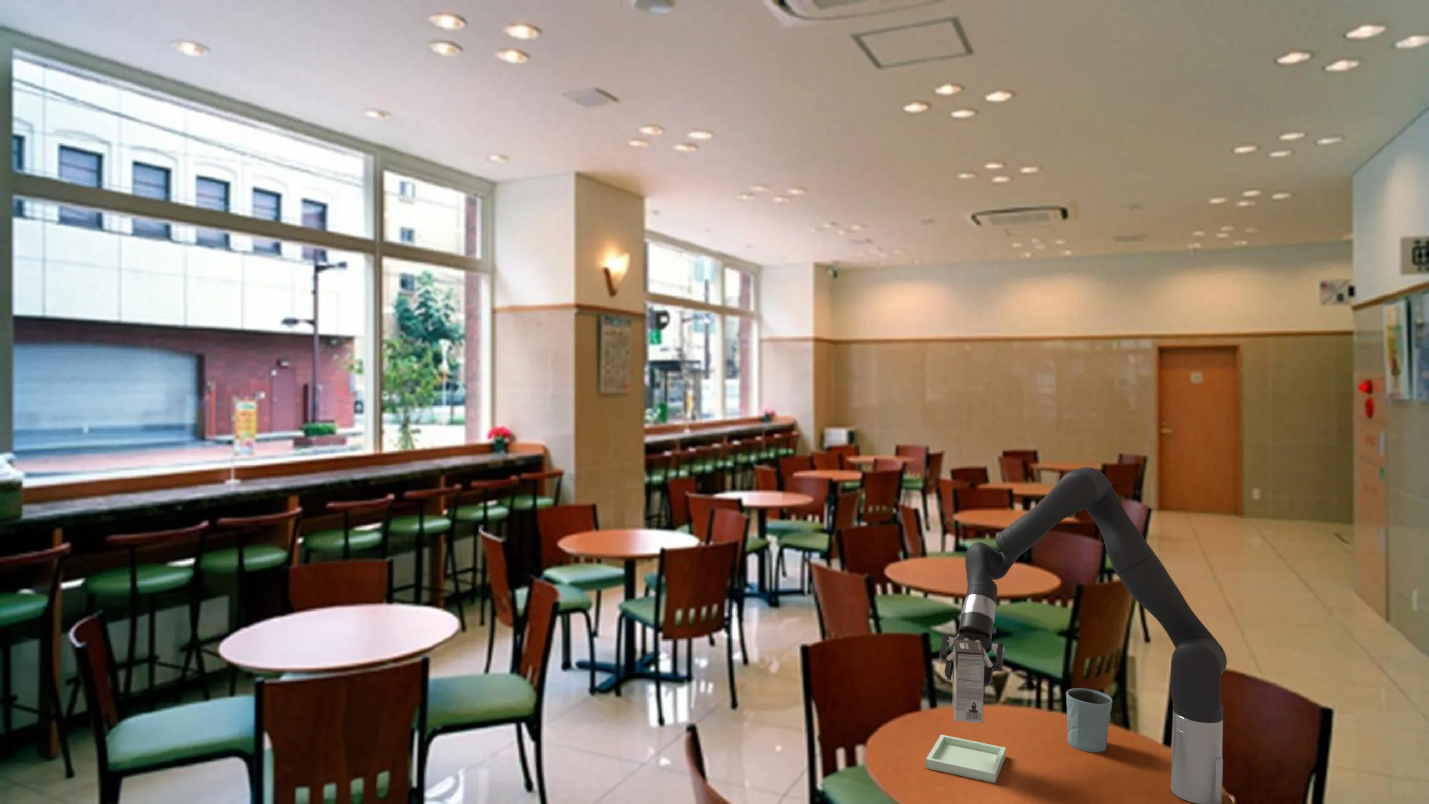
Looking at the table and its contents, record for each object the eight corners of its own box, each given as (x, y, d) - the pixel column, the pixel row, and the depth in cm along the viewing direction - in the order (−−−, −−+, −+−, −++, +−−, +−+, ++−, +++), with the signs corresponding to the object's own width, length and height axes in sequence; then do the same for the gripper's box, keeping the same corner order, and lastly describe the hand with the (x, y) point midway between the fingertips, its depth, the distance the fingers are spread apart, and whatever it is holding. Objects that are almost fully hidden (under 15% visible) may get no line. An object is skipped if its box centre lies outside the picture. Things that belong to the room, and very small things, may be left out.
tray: (1005, 756, 197) (1005, 747, 197) (994, 783, 183) (995, 773, 183) (940, 742, 204) (940, 734, 204) (925, 767, 190) (925, 758, 190)
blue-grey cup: (1059, 734, 209) (1060, 686, 209) (1102, 736, 208) (1103, 688, 208) (1073, 752, 199) (1074, 702, 199) (1117, 755, 198) (1119, 704, 198)
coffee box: (951, 705, 199) (952, 638, 198) (979, 708, 197) (981, 640, 197) (954, 721, 190) (956, 650, 189) (984, 724, 188) (985, 652, 188)
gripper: (944, 606, 203) (932, 668, 193) (1007, 614, 196) (998, 679, 186) (949, 622, 207) (937, 683, 198) (1010, 631, 201) (1001, 695, 191)
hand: (966, 681), depth 192 cm, fingers closed on coffee box, 7 cm apart
